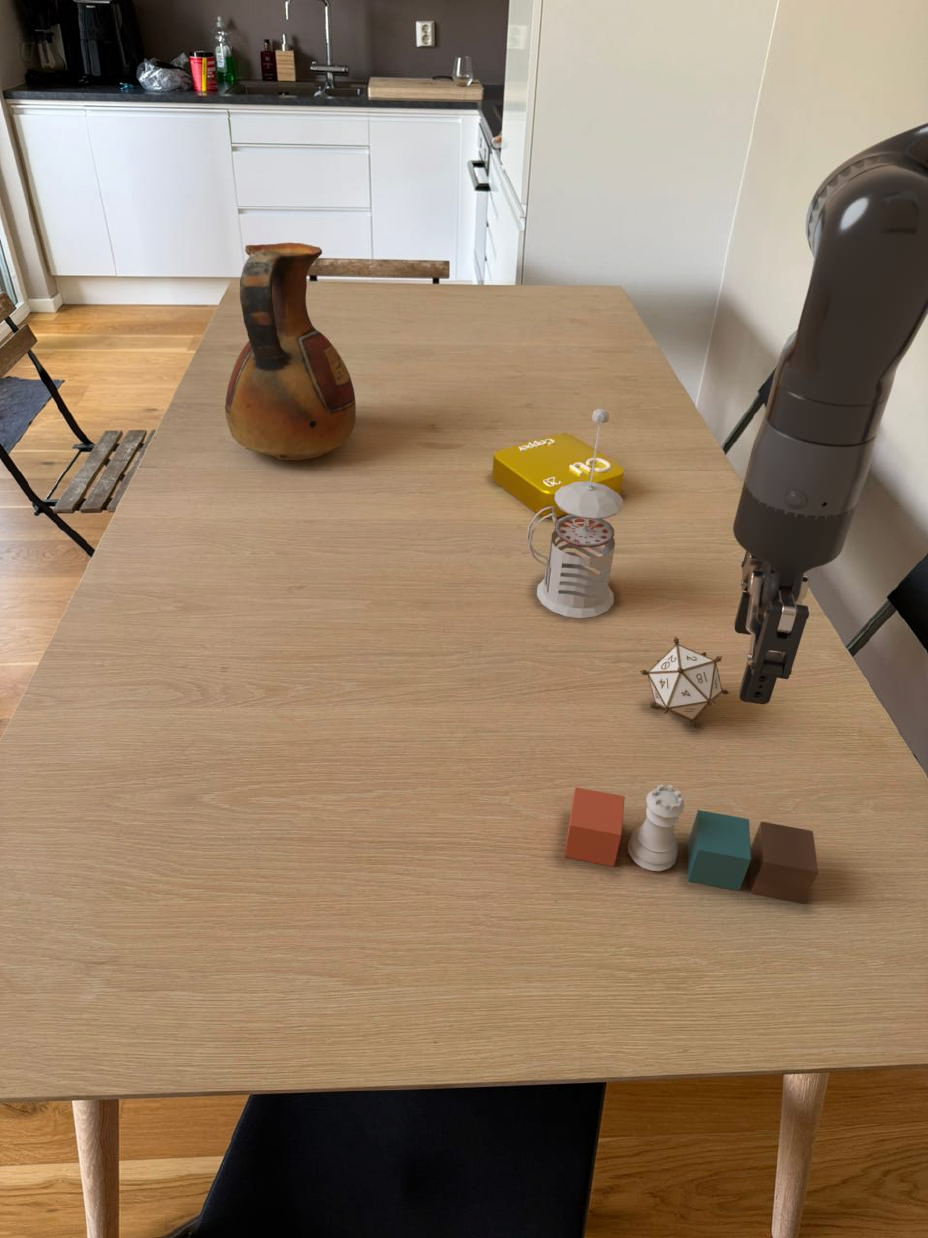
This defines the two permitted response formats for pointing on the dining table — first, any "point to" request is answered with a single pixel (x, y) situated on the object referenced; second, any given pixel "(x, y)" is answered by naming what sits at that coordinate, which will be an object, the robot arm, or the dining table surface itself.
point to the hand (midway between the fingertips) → (749, 664)
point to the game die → (685, 682)
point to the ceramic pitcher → (286, 363)
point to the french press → (580, 547)
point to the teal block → (719, 850)
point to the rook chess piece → (657, 830)
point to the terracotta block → (595, 827)
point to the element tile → (551, 470)
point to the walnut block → (783, 862)
